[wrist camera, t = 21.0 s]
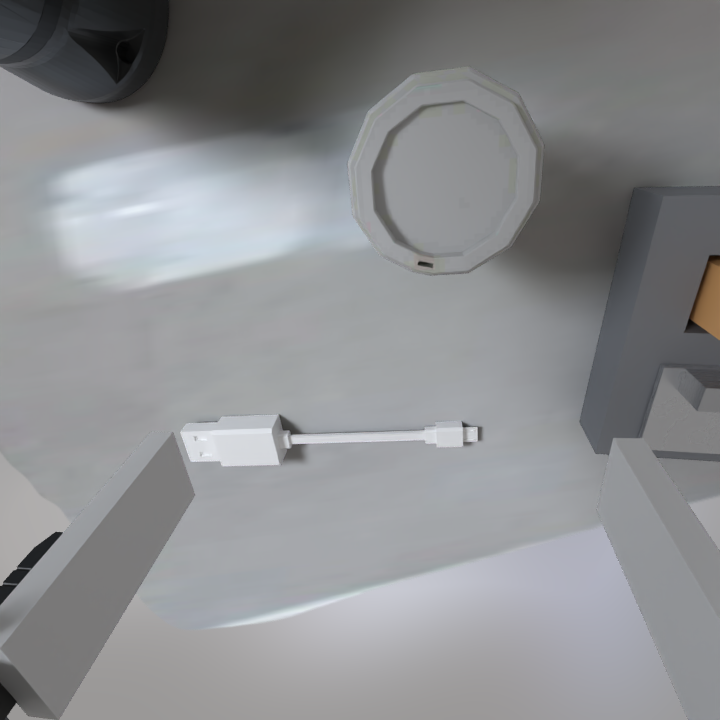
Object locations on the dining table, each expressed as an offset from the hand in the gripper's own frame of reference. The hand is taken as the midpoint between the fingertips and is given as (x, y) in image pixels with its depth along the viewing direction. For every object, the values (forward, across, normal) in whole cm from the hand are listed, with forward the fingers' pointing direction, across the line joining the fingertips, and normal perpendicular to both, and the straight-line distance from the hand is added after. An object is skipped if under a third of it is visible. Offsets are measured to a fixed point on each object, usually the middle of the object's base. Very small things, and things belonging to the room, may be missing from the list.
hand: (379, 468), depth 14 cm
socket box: (+28, -24, +8) cm, 38 cm away
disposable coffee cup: (+29, -3, -6) cm, 30 cm away
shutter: (+23, -24, +14) cm, 36 cm away
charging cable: (+29, +10, +21) cm, 37 cm away
